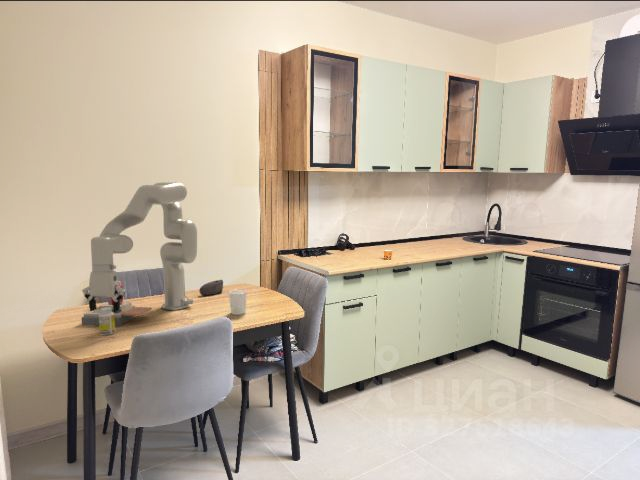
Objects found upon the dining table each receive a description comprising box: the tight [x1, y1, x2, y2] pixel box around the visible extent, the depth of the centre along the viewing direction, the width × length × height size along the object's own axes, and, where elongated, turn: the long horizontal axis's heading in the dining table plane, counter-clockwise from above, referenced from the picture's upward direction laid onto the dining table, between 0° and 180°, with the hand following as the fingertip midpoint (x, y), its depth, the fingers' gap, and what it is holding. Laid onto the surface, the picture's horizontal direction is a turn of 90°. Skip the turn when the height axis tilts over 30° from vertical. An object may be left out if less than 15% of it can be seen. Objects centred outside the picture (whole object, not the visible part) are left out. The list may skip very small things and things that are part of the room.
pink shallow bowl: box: [119, 301, 153, 317], centre depth 188 cm, size 10×10×4 cm
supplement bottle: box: [98, 307, 116, 336], centre depth 172 cm, size 6×6×10 cm
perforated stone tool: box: [199, 279, 224, 296], centre depth 233 cm, size 15×5×7 cm, turn 134°
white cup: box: [228, 289, 247, 316], centre depth 199 cm, size 8×8×10 cm
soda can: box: [107, 279, 125, 305], centre depth 211 cm, size 7×7×12 cm
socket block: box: [81, 304, 136, 327], centre depth 189 cm, size 16×16×5 cm
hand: (104, 310), depth 171 cm, fingers open, 9 cm apart
